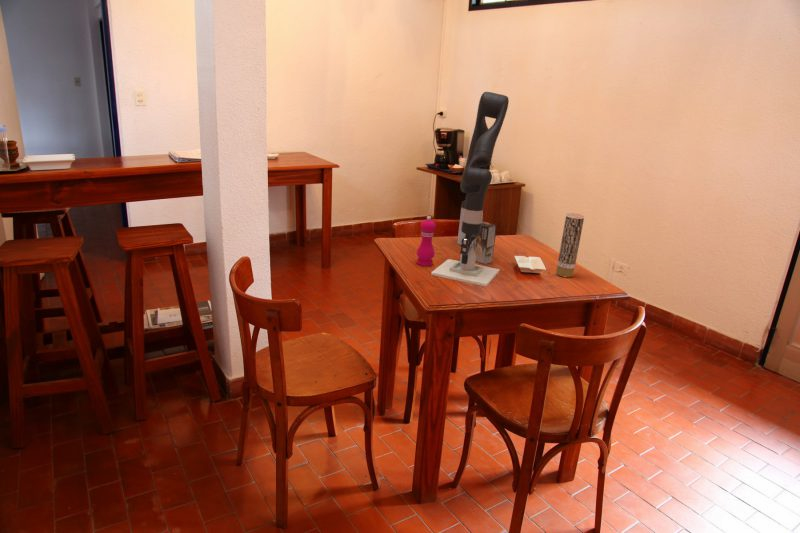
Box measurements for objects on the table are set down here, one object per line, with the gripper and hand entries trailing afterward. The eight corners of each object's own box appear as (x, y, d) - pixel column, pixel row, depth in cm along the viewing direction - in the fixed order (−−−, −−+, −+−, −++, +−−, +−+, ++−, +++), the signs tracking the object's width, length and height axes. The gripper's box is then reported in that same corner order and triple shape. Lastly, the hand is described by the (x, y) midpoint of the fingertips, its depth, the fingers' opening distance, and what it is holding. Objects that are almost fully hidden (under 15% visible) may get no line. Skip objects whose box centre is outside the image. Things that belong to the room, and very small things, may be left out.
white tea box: (465, 270, 208) (468, 245, 205) (459, 264, 214) (462, 240, 211) (474, 270, 209) (477, 245, 205) (468, 264, 215) (471, 240, 212)
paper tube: (561, 271, 223) (571, 212, 215) (576, 276, 219) (587, 216, 210) (552, 274, 218) (563, 214, 210) (567, 279, 214) (579, 218, 206)
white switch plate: (448, 261, 225) (448, 255, 224) (499, 271, 217) (500, 265, 216) (431, 274, 207) (431, 268, 207) (486, 286, 199) (487, 280, 199)
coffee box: (493, 261, 229) (498, 225, 224) (484, 264, 224) (489, 227, 219) (475, 256, 235) (480, 220, 229) (466, 258, 230) (471, 222, 225)
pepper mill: (432, 267, 216) (436, 219, 209) (414, 265, 217) (418, 217, 210) (434, 262, 222) (439, 215, 216) (417, 260, 224) (421, 213, 217)
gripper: (476, 226, 198) (471, 267, 203) (486, 218, 210) (481, 258, 215) (457, 222, 200) (452, 263, 206) (468, 215, 213) (463, 254, 218)
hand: (467, 260), depth 210 cm, fingers open, 8 cm apart
